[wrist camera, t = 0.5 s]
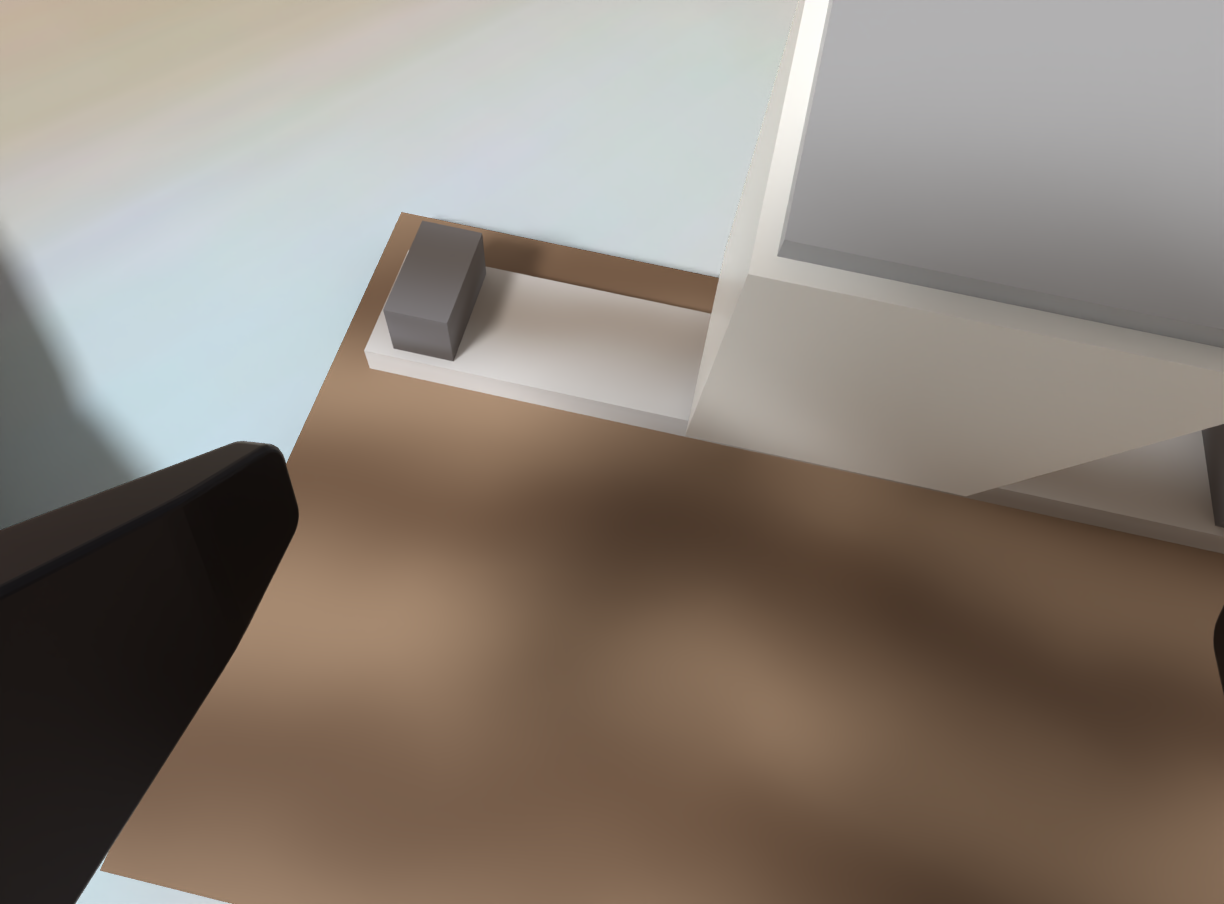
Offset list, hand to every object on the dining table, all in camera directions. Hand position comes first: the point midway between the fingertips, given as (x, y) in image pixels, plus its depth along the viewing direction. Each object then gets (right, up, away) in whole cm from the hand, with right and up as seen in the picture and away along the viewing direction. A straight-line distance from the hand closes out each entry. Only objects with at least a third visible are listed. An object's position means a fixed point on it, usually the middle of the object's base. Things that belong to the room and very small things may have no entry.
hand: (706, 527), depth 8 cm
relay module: (+5, +3, +14) cm, 15 cm away
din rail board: (+4, -3, +13) cm, 14 cm away
